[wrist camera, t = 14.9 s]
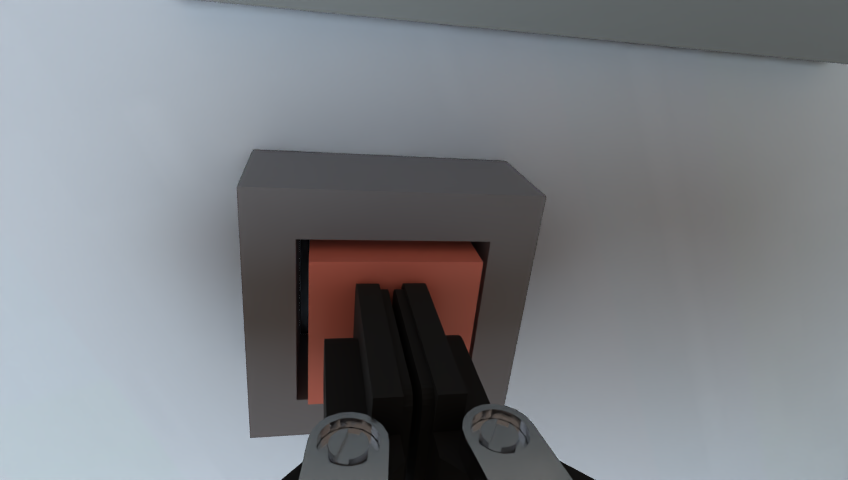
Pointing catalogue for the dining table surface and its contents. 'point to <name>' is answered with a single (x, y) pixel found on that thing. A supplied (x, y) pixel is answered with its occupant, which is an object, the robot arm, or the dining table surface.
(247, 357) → the button housing
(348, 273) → the button
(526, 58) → the dining table surface
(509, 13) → the slate board
